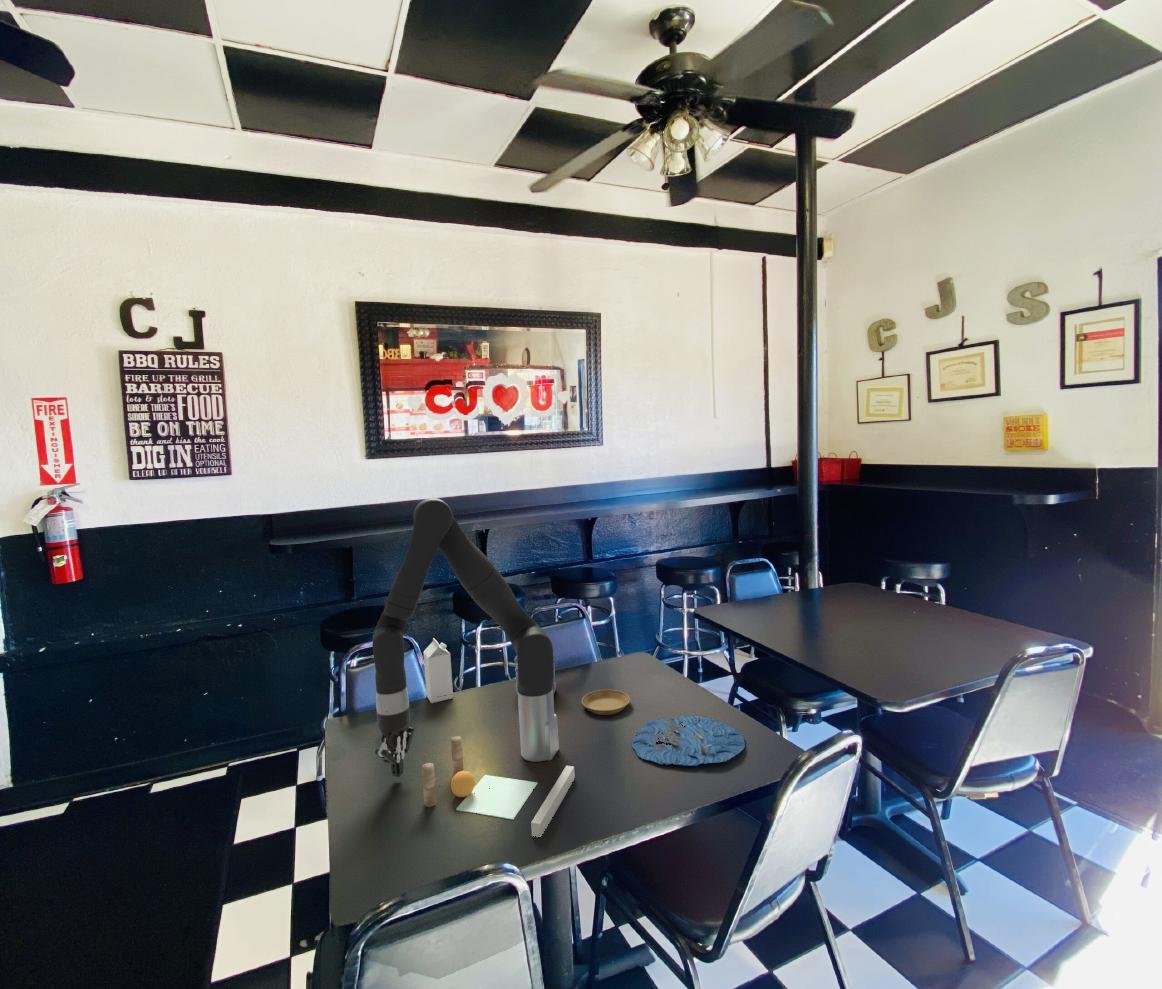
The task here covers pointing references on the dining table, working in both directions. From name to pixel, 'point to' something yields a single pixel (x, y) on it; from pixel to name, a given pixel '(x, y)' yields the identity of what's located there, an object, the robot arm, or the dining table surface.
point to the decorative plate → (689, 742)
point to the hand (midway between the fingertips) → (398, 774)
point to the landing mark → (498, 797)
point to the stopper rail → (552, 802)
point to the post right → (457, 754)
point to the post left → (429, 784)
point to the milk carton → (438, 672)
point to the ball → (462, 783)
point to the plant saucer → (605, 701)
